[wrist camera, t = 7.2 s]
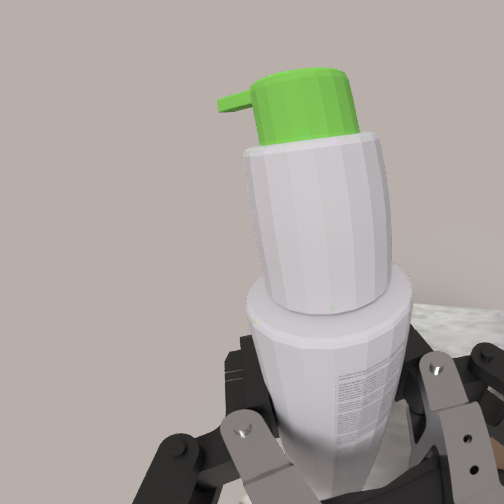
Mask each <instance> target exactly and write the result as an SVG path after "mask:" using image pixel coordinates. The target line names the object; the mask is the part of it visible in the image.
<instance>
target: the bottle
mask: <svg viewBox="0 0 504 504" xmlns="http://www.w3.org/2000/svg"><path fill="white" fill-rule="evenodd" d="M217 102H218V110H219V112H235V111H239V110H243V109H246V108H250V107H253V110H254V116H255V121H256V126H257V131H258V137H259V142H260V145H259V146H254V147H250V148H248V149H247V150H245V151H244V155H243V159H244V167H245V174H246V181H247V187H248V195H249V202H250V208H251V215H252V221H253V227H254V232H255V237H256V243H257V248H258V253H259V257H260V262H261V267H262V272H263V275H262V276H261V277H260V278H259V279H257V280H256V281H255V283H254V284H253V286H252V288H251V289H250V291H249V292H248V294H247V303H246V315H247V319H248V322H249V326H250V330H251V334H252V338H253V341H254V345H255V349H256V352H257V356H258V360H259V363H260V367H261V371H262V374H263V378H264V382H265V384H266V386H267V389H268V393H269V396H270V400H271V404H272V407H273V411H274V414H275V418H276V421H277V425H278V430H279V434H280V437H281V441H282V444H283V447H284V451H285V455H286V457H287V458H288V460H289V461H290V462H291V463H293V464H294V465H295V467H296V468H297V469H298V471H299V472H300V473H301V475H302V476H303V478H304V479H305V481H306V482H307V484H308V485H309V487H310V488H311V489H312V491H313V492H314V494H315V495H316V496H317V498H318V499H319V501H321V500H325V499H328V498H332V497H336V496H339V495H342V494H346V493H350V492H359V491H361V490H362V489H363V487H364V484H365V482H366V480H367V478H368V475H369V473H370V470H371V468H372V465H373V463H374V460H375V458H376V455H377V452H378V450H379V447H380V444H381V441H382V438H383V435H384V432H385V429H386V426H387V423H388V420H389V417H390V413H391V410H392V406H393V403H394V399H395V395H396V391H397V387H398V383H399V379H400V375H401V370H402V366H403V361H404V356H405V351H406V346H407V340H408V334H409V328H410V321H411V314H412V306H413V297H414V293H413V290H412V286H411V282H410V279H409V277H408V275H407V274H406V273H405V272H404V271H403V270H402V269H401V268H400V267H399V266H398V265H397V264H395V263H393V262H391V261H392V248H391V247H392V241H391V240H392V237H391V213H390V202H389V192H388V185H387V178H386V171H385V166H384V160H383V155H382V150H381V145H380V139H379V138H378V136H377V134H375V133H372V132H360V131H359V126H358V120H357V116H356V111H355V106H354V101H353V97H352V92H351V88H350V84H349V80H348V78H347V76H346V74H345V73H344V72H342V71H340V70H337V69H333V68H304V69H295V70H290V71H284V72H280V73H276V74H273V75H269V76H266V77H264V78H262V79H260V80H258V81H256V82H255V83H254V84H253V85H252V86H251V87H250V90H248V91H244V92H240V93H237V94H234V95H230V96H227V97H224V98H221V99H218V100H217Z"/></svg>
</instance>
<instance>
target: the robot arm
mask: <svg viewBox="0 0 504 504" xmlns="http://www.w3.org/2000/svg"><path fill="white" fill-rule="evenodd" d="M240 346H241V350H237V351H231V352H229V354H228V356H227V358H226V360H225V396H226V397H225V398H226V416H225V419H223V421H222V423H221V425H220V426H219V427H218V428H217V429H215V430H214V431H212V432H210V433H207V434H205V435H202V436H199V437H197V438H193V437H192V436H190V435H188V434H182V433H179V434H174V435H171V436H169V437H167V438H166V439H165V440H163V442H162V443H161V444H160V446H159V448H158V450H157V452H156V454H155V457H154V459H153V461H152V463H151V465H150V467H149V469H148V471H147V473H146V476H145V478H144V480H143V482H142V484H141V486H140V488H139V490H138V493H137V495H136V497H135V499H134V501H133V503H132V504H217V503H218V500H219V497H220V494H221V490H222V487H223V485H224V484H226V483H229V482H231V481H234V480H236V479H239V478H242V481H243V485H244V488H245V490H246V492H247V494H248V496H249V498H250V500H251V502H252V504H504V470H503V469H499V468H497V466H496V462H495V457H494V453H493V449H492V445H491V441H490V437H489V435H490V436H491V437H492V438H494V439H495V440H496V441H497V442H499V443H500V444H501V445H503V446H504V401H502V400H501V399H500V398H498V397H497V396H495V395H494V394H493V393H491V392H490V391H488V390H487V388H488V386H490V387H492V388H493V389H495V390H496V391H498V392H499V393H500V394H502V395H503V396H504V351H503V350H502V349H500V348H498V347H497V346H495V345H493V344H491V343H486V342H484V343H479V344H477V345H476V346H475V347H474V348H473V349H472V352H471V355H468V356H463V357H458V358H451V357H450V356H449V355H448V354H446V353H444V352H440V351H433V350H432V348H431V347H430V346H429V345H428V344H427V342H426V341H425V340H424V339H423V338H422V337H421V335H420V334H419V333H418V332H417V331H416V330H414V327H413V326H412V325H411V324H410V328H409V334H408V340H407V346H406V351H405V356H404V361H403V366H402V370H401V375H400V379H399V383H398V387H397V391H396V395H395V399H394V400H395V401H396V402H397V401H399V400H402V399H404V398H405V400H406V401H407V406H406V414H407V420H408V427H409V434H410V441H411V455H410V461H409V470H407V471H406V472H405V473H403V474H402V475H401V476H399V477H398V478H397V479H395V480H394V481H392V482H391V483H390V484H388V485H387V486H385V487H383V488H379V489H373V490H366V491H359V492H350V493H346V494H342V495H339V496H336V497H332V498H328V499H325V500H321V501H319V499H318V498H317V496H316V495H315V494H314V492H313V491H312V489H311V488H310V487H309V485H308V484H307V482H306V481H305V479H304V478H303V476H302V475H301V473H300V472H299V471H298V469H297V468H296V467H295V465H294V464H293V463H291V462H290V461H289V460H288V458H287V457H286V455H285V454H284V452H283V451H282V449H281V447H280V446H279V444H278V443H277V441H276V439H275V438H279V437H280V436H279V430H278V425H277V421H276V418H275V414H274V411H273V407H272V404H271V400H270V396H269V393H268V389H267V386H266V384H265V382H264V378H263V374H262V371H261V367H260V363H259V360H258V356H257V352H256V349H255V345H254V341H253V338H252V335H247V336H243V337H240Z"/></svg>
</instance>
